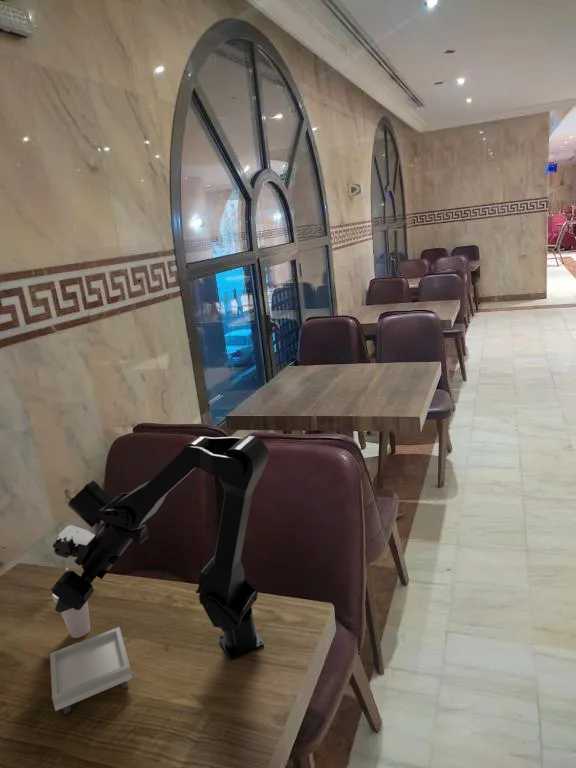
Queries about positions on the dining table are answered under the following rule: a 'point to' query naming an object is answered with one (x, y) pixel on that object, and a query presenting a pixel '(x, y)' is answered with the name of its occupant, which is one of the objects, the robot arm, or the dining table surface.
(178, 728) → the dining table surface
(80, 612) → the smoothie
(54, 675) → the shallow square tray
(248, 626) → the robot arm
